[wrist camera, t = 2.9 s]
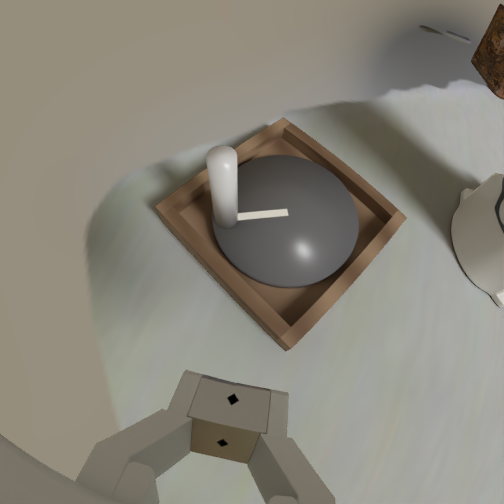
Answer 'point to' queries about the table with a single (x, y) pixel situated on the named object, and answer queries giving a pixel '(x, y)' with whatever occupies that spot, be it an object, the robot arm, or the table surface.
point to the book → (492, 54)
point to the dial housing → (266, 297)
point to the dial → (280, 218)
